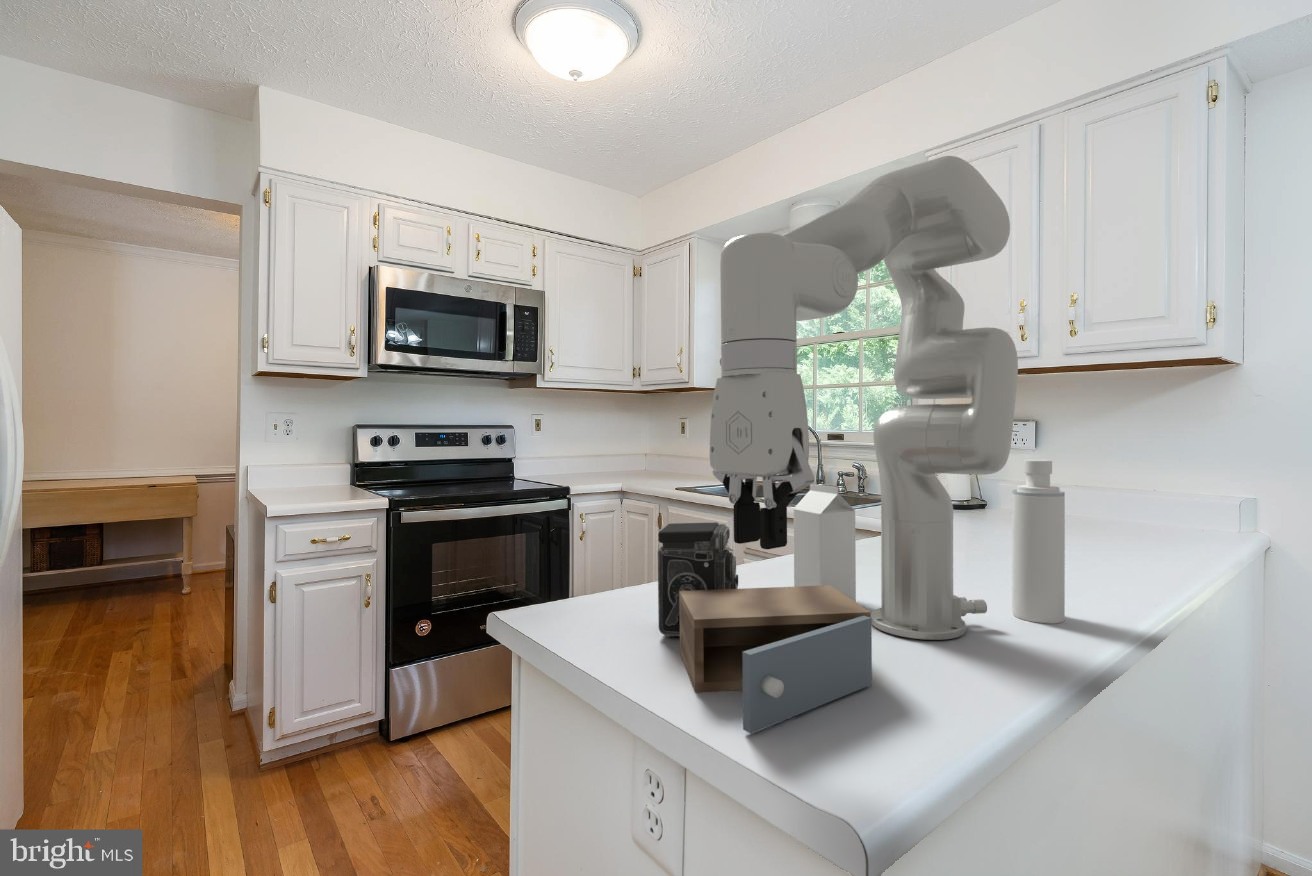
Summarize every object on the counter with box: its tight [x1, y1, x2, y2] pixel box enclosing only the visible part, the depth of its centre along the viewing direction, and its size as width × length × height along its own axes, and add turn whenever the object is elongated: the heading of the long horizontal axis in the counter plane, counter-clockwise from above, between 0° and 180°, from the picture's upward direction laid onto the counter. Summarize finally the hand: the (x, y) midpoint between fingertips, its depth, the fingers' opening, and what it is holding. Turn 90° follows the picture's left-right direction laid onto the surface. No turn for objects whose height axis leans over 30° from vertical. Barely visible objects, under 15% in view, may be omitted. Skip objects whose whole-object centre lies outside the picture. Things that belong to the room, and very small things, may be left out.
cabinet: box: [679, 585, 871, 693], centre depth 76 cm, size 20×12×8 cm, turn 96°
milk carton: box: [793, 483, 857, 603], centre depth 104 cm, size 7×7×19 cm
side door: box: [742, 616, 873, 734], centre depth 64 cm, size 18×2×7 cm, turn 126°
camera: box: [657, 522, 739, 638], centre depth 89 cm, size 10×10×15 cm
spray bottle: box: [1011, 459, 1066, 625], centre depth 94 cm, size 7×7×25 cm
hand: (760, 542), depth 64 cm, fingers open, 3 cm apart
